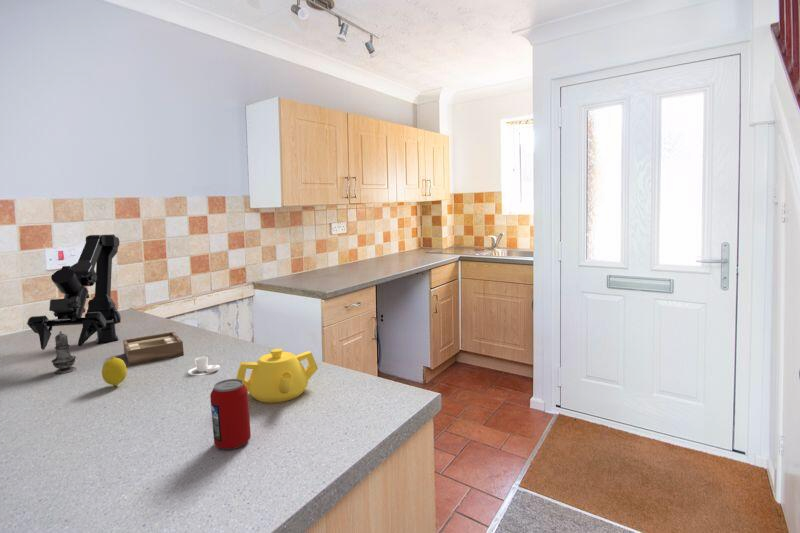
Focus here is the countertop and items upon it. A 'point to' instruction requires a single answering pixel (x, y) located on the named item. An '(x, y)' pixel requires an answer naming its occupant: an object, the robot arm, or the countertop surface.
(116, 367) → the lemon
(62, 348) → the grey stone tall piece
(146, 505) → the countertop surface
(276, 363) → the teapot
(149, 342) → the walnut box
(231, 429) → the beverage can
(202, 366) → the teacup and saucer
